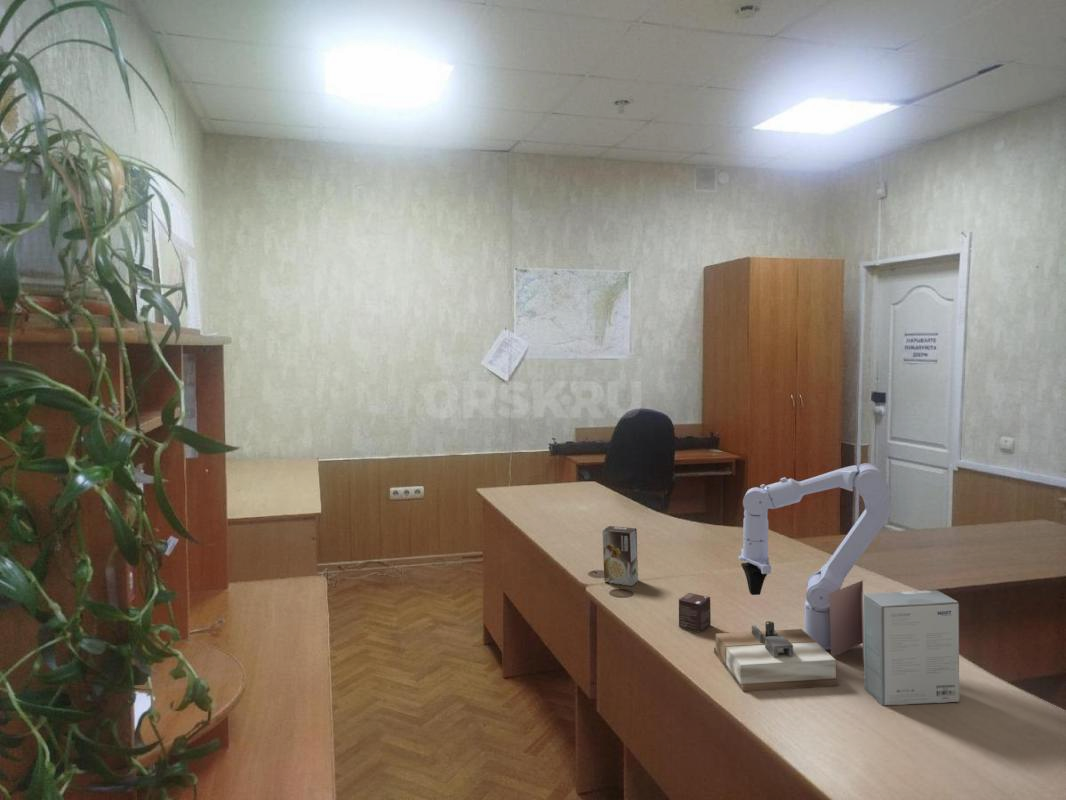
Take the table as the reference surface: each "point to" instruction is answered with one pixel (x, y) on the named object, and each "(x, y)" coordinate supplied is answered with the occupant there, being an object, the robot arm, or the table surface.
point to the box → (694, 612)
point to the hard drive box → (911, 647)
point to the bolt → (771, 632)
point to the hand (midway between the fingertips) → (754, 593)
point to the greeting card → (846, 618)
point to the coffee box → (620, 555)
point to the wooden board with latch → (775, 660)
